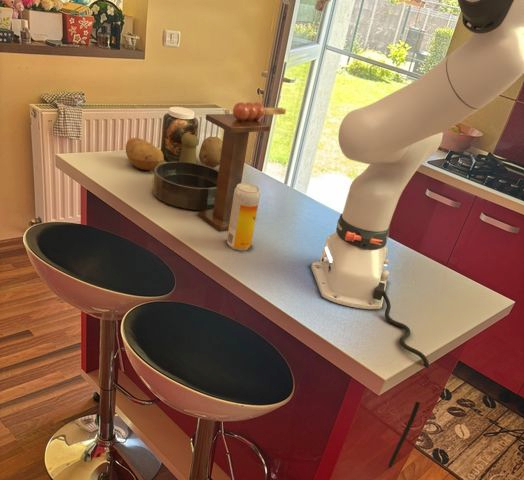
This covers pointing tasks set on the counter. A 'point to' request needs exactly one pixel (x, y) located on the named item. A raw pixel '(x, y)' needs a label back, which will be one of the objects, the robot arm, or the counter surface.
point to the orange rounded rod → (254, 111)
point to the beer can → (243, 216)
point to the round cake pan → (186, 185)
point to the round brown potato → (211, 151)
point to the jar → (177, 131)
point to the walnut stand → (229, 165)
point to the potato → (143, 154)
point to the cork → (188, 148)
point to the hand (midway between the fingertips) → (302, 6)
